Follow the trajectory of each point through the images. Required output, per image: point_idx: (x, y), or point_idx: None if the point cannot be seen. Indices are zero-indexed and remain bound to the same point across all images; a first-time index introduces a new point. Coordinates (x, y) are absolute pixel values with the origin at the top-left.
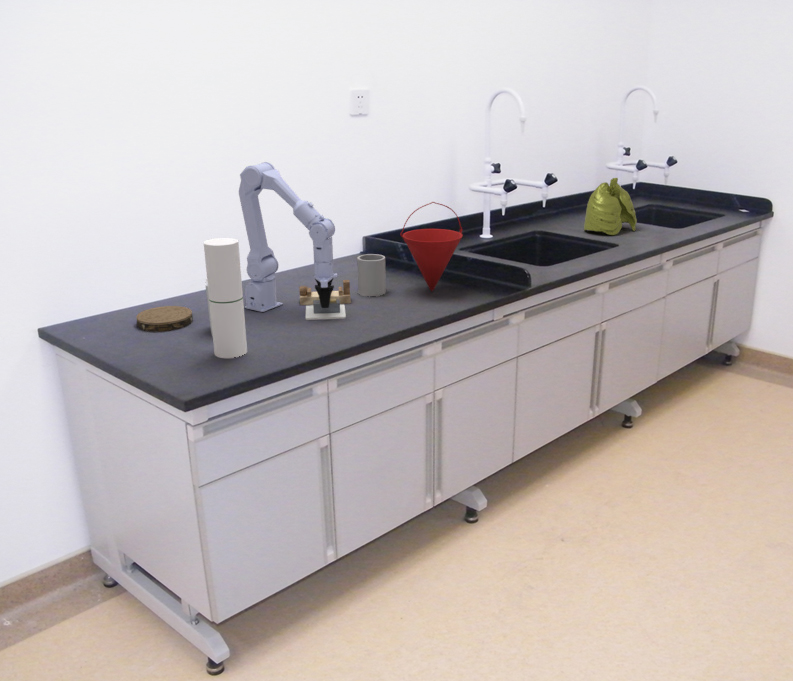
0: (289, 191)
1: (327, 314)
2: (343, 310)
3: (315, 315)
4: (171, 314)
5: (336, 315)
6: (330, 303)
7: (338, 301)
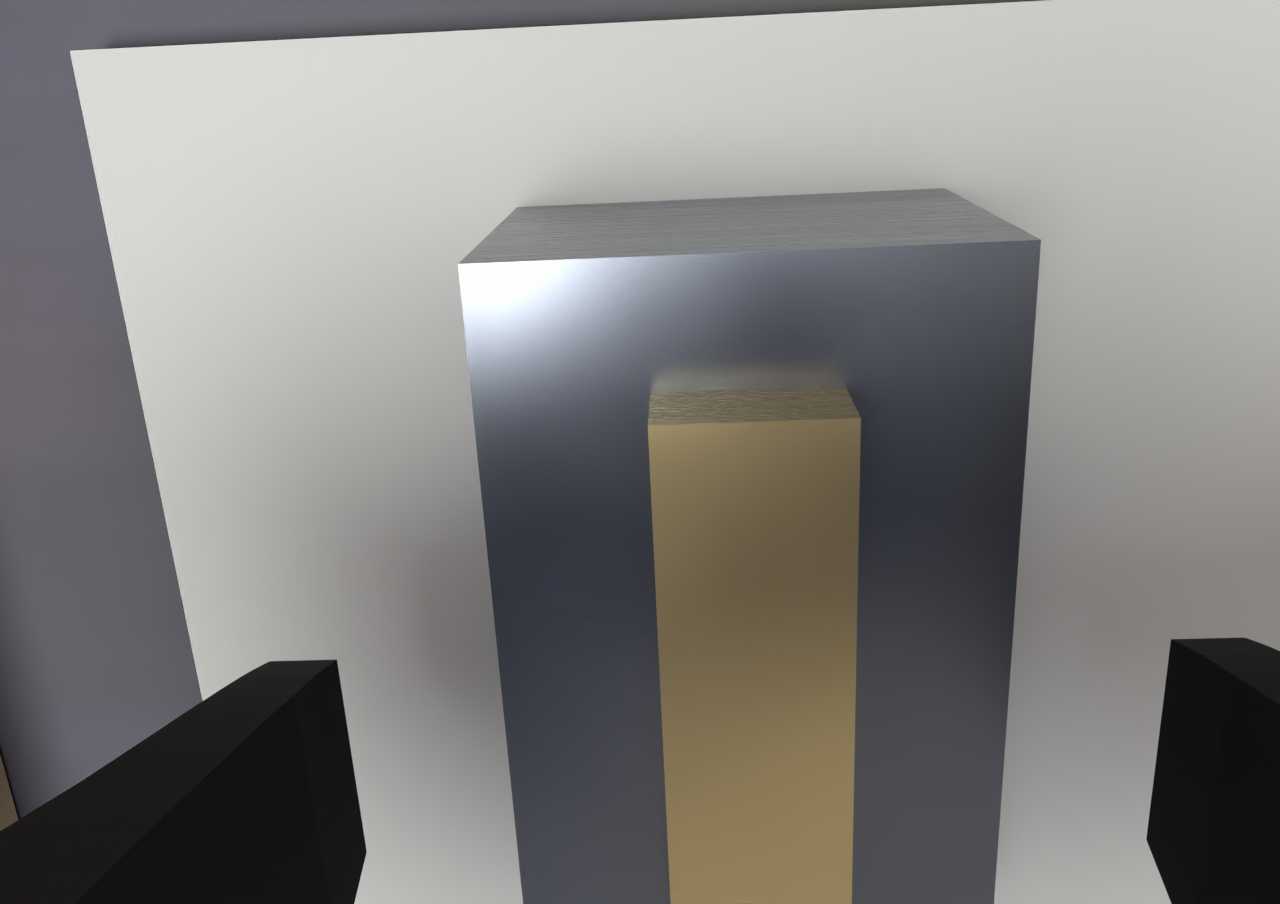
0: None
1: (1062, 561)
2: (724, 77)
3: (1084, 847)
4: None
5: (1214, 301)
6: (1004, 611)
7: (763, 302)
